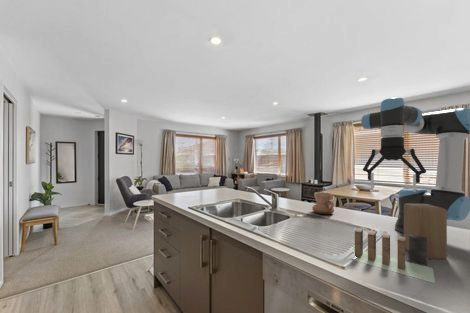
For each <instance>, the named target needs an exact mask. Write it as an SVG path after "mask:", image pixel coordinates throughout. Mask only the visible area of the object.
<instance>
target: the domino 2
mask: <svg viewBox="0 0 470 313" xmlns="http://www.w3.org/2000/svg"><path fill="white" fill-rule="evenodd" d="M381 245H382V246H381V255H382V264H384V265H387V266H389V263H390V258H391V234H390V233H385V232H384V233H383V234H382V236H381Z"/></svg>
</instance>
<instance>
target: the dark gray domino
mask: <svg viewBox="0 0 470 313" xmlns="http://www.w3.org/2000/svg"><path fill="white" fill-rule="evenodd" d="M408 259H409V260H408V262H410V263H414V264H418V265H422V266H426V267H428V258H427V238H426V237H420V236H415V235H409V251H408Z"/></svg>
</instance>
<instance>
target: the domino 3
mask: <svg viewBox="0 0 470 313" xmlns="http://www.w3.org/2000/svg"><path fill="white" fill-rule="evenodd" d="M396 244H397V259H398V269H402V270H405V261H406V249H405V237H404V236H401V235H400V236H399V235H398V237H397V243H396Z"/></svg>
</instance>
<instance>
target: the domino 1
mask: <svg viewBox="0 0 470 313" xmlns="http://www.w3.org/2000/svg"><path fill="white" fill-rule="evenodd" d="M367 252H368V260H369V261H373V262H374V261H375V258H376V254H377V231H373V230H369V231H368V233H367Z"/></svg>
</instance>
